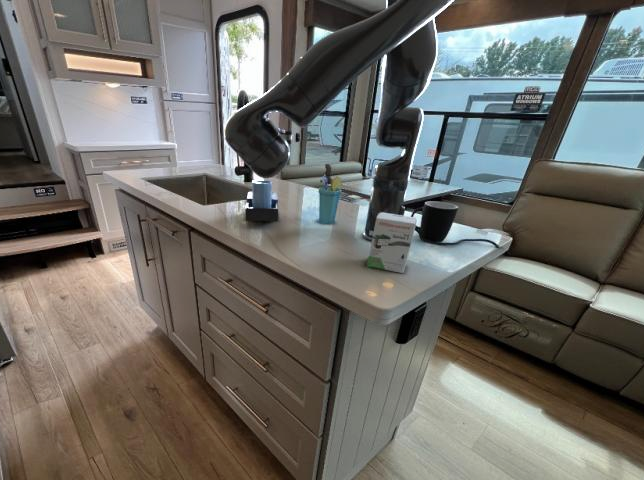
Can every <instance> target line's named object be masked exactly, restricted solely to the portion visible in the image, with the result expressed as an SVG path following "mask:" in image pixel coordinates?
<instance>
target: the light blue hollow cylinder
mask: <svg viewBox="0 0 644 480" xmlns="http://www.w3.org/2000/svg"><path fill="white" fill-rule="evenodd" d="M272 187H273V185H272V181H271V180H266V179H255V180H252V181H251V192H252V208H271V197H272V193H273V191H272V190H273V189H272Z"/></svg>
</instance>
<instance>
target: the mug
mask: <svg viewBox="0 0 644 480" xmlns="http://www.w3.org/2000/svg"><path fill="white" fill-rule="evenodd" d="M458 210H459V206H458V205H456V204H454V203H450V202H445V201H435V200H434V201H433V200H432V201H431V200H430V201H425V202H424V204H423V206H421V207H418V208H416V209H414V210H413V211H412V213H411V215H410V217H414V216H415V214H416V213H417V212H420V211H422V212H421V213H422V214H421V219H420V226H418V225H416V226H415V228H417V229H418V230H419V231H420V232H421V235H422V237H423V238H424V239H426V240H428V241H431V242H440V243H443V242H444V240H445V239H446V238H447V237H448V235H449V234H450V230H451V229H452V226H453V224H454V221H455V219H456V217H457V213H458Z"/></svg>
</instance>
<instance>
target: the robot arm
mask: <svg viewBox="0 0 644 480" xmlns="http://www.w3.org/2000/svg"><path fill="white" fill-rule="evenodd" d="M385 1H386V8H385V9H383V10H382V11H380V12H378V13H375V14H374V15H373V16H371V17H369V18H368V17H367V18H366V19H363V20H362V21H359V22H356V23H354V24H350V25H348V26H346V27H342V28H341V29H338V30H336V31H333V32H332V33H329V34H328V35H326V36H324V37H322V38H321V39H319V40H318V41H316V42H315V43H314V44H313V45H312V46H311V47H309V48H308V49H307V50H306V51H305V52H304V54H303V55H301V57H300V58H299V59H298V60H297V62H296V63H294V65H293V66H292V67H291V68H289V70H288V72H287V73H285V75H284V76H283V77H282V78H281V79H280V80H278V82H277V83H276V84H275V85H273V87H271V88H270V89H269V90H268V91H267V92H265V93H264V94H263V95H261V96H259V97H258V98H257V99H254V100H252V101H251V102H249V103H247V104H246V105H244V106H243V107H241V108H239V109H237V110H236V111H235V112H234V113H233V114H231V115H230V116H229V118H228V119H227V121H226V123H225V125H224V133H223V134H224V135H223V137H224V140H225V142H226V143H227V145H228V146H229V147H230V148H231V149H232V150H233V151H234V153H235V154H236V155H237V156H238V157H239V158H240V159H241V160H242V161H243V162H244V163H245V164H246V165H247V166H248V168H249V169H250V170H251V171H252V172H253V173H254V174H255V175H256V176H258V177H260V178H263V179H270V178H273V177H275V176H277V175H279V174H280V173H281V172H282V171H283V170H284V169H285V168H286V167H287V164H288V162H289V160H290V157H291V144H293V130H291V129H288V130H284V129H280V127H277V125H276V124H275V123H274V122H273V121H272V120H271V119H270V118H269V117H268V115H270V113H271V114H272V113H275V112H276V113H280V114H282V115H283V116H285V117H286V118H287V119H289V121H291V122H292V123H293V124H295V125H296V126H297V127H299V128H302V129H304V128H306V127H307V128H308V126H310V125H311V124H312V123H313V122H314V121H315V120H316V119H317V118H318V117H319V115H320V114H322V112H323V111H325V109H326V108H327V107H329V105H330V104H332V103H333V101H334V100H335V99H336V98H337V97H338V96H339V95H340V94H341V93H342V92H343V91H344V90H345V89H346V88H347V87H349V85H350V84H351V83H353V82H354V81H355V80H356V79H357V78H358V77H360V76H361V75H362V74H363V73H364V72H365V71H367V70H368V69H369V68H371V66H373V65H374V64H376V63H377V62H378V61H380V60H381V59H382V58H383V60H382V67H381V68H382V69H381V86H380V102H379V108H378V114H377V120H376V124H375V125H376V126H375V133H374V134H375V142H376V144H377V145H378V146H379V147H381V148H385V149H399V150H402V152H401V153H400V154H399V155H396V157H393V158H392V159H389V160H385V161H382V162H379V163H377V164H376V165H375V168H374V171H373V178H372V185H371V191H370V197H369V202H368V210H367V214H366V221H365V226H364V232H363V237H364V238H365V239H367V240H369V241H372V238H373V233H374V228H375V223H376V218H377V216H378V214H379V213H389V214H395V215H402V216H405V211H406V207H405V206H404V202H405V199H406V193H407V188H408V185H409V181H410V176H411V170H412V167H413V166H412V165H413V162H414V158H415V157H414V156H415V153H416V149H417V145H418V142H419V138H420V135H421V131H422V127H423V122H424V111H423V109H422V108H420V107H414V106H412V107H411V106H410V105H412V103H414V102H415V101H416V100H417V99H419V98H420V96H422V94H423V93H424V92H425V90H426V89H427V87H428V86H429V84H430V81H431V78H432V76H433V71H434V69H435V65H436V62H437V58H438V35H437V29H436V23H435V17H436V16H438V15H439V14H440V13H441V12H443V11H444V10H445V9H446V8H447V7H448V6H450V5H451V4H452V2H455V0H385ZM414 232H416V233H417V234H418V237H419V238H420V240H421V241H423V242H425V243H428V244H432V245H437V246H456V245H459V244H460V243H462V242H485V243H489V244H491V245H493V246H494V247H495V248H496V249H500V246H499V244H498V243H496V242H495V241H493V240H490V239H486V238H463V239H462V238H461V239H459V240H457V241H455V242H454V241H453V242H431V241H428V240H426V239H424V238H423V237H422V235H421V232H420V231H419V230H418V229H417V228H415V230H414Z"/></svg>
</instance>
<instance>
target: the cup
mask: <svg viewBox="0 0 644 480" xmlns="http://www.w3.org/2000/svg"><path fill="white" fill-rule="evenodd" d="M319 182H320V184H321V183H323V182H324V186H321V187H318V194H319V195H318V196H319V197H318V198H319V199H318V201H319V202H318V204H319V205H318V211H319V212H318V223H319V224H322V225H333V224H335V220H336V215H337V211H338V206H339V200H340V196H341V195H342V185H343V182H342V178H341V177H339V176H335V177H333V178H332V179H331V183H330V186H329V184H328V177H327V176H324V177H322V178H321V179H320V180H319Z"/></svg>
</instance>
